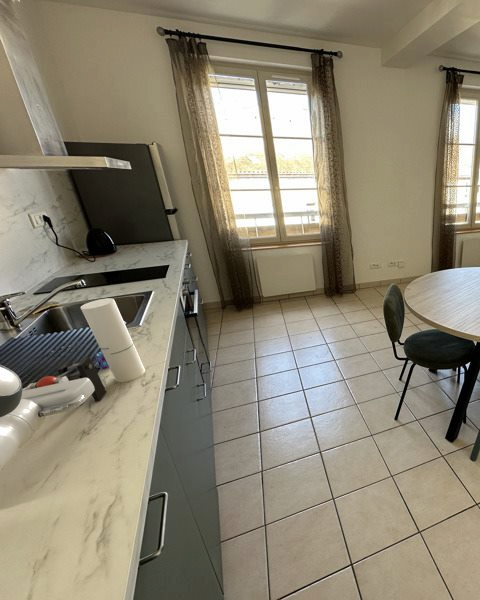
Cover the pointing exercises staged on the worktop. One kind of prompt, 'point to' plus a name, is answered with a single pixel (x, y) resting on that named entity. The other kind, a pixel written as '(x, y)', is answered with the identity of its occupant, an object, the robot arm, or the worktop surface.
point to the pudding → (101, 360)
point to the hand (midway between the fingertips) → (50, 382)
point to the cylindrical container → (113, 339)
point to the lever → (50, 379)
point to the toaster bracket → (86, 376)
